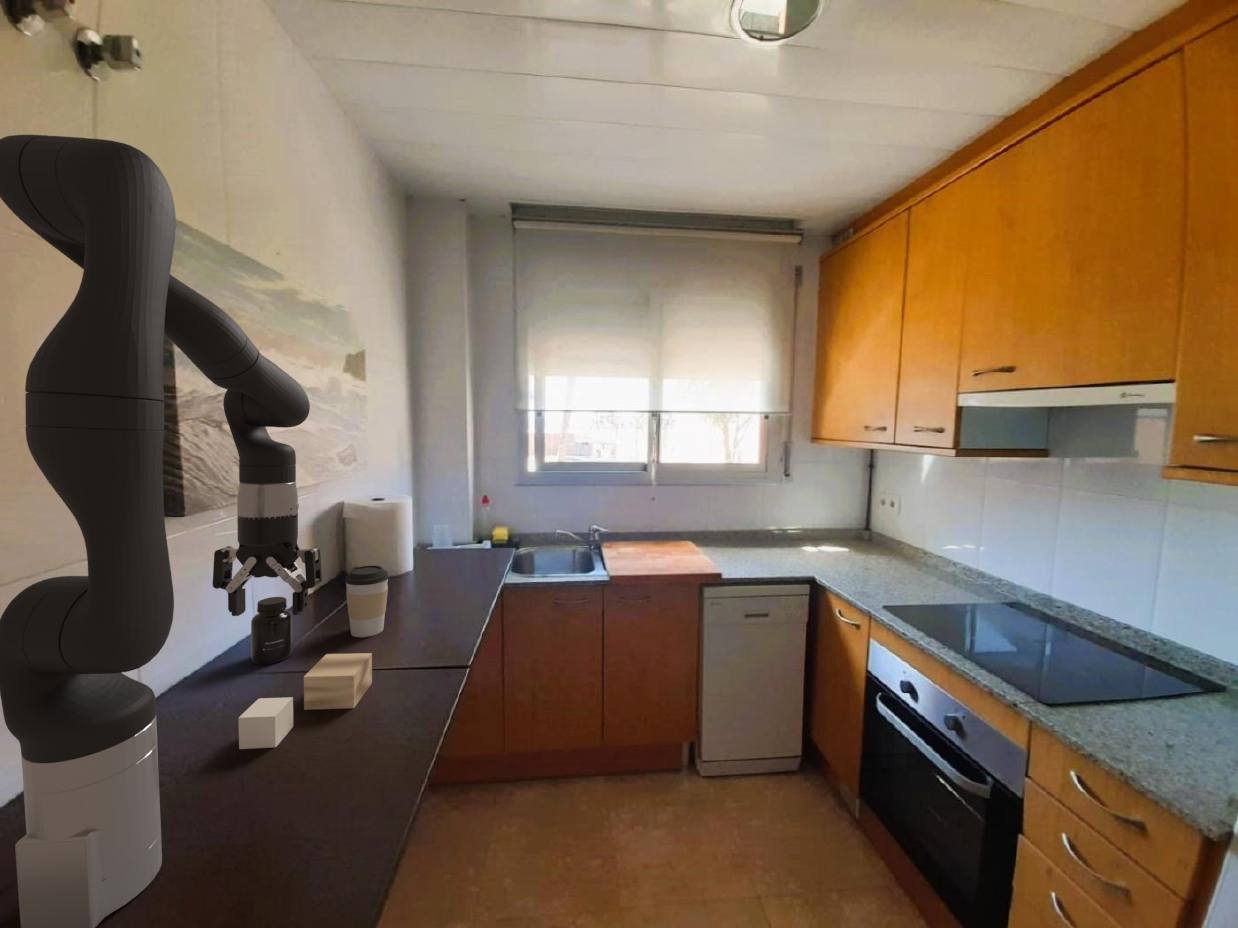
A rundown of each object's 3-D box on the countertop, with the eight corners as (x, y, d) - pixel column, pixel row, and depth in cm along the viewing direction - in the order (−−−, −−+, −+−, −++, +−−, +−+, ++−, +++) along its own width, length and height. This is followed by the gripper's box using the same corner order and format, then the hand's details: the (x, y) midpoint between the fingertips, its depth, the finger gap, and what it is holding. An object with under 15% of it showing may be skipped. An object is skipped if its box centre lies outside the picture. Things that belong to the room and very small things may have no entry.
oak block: (354, 708, 83) (353, 675, 82) (304, 710, 82) (303, 676, 81) (371, 683, 91) (371, 653, 90) (326, 684, 90) (326, 653, 89)
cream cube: (275, 747, 72) (275, 716, 72) (239, 749, 72) (238, 717, 71) (293, 726, 77) (292, 697, 77) (259, 728, 76) (258, 698, 76)
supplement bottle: (271, 667, 94) (270, 608, 93) (242, 663, 95) (241, 604, 94) (300, 651, 101) (300, 596, 100) (273, 647, 102) (272, 592, 101)
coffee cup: (395, 623, 117) (395, 562, 115) (378, 639, 108) (378, 574, 106) (357, 622, 116) (357, 561, 115) (337, 638, 107) (336, 573, 106)
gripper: (199, 514, 69) (200, 624, 70) (306, 516, 71) (306, 622, 72) (233, 506, 76) (234, 605, 77) (329, 508, 78) (329, 604, 79)
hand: (269, 613), depth 75 cm, fingers open, 8 cm apart
